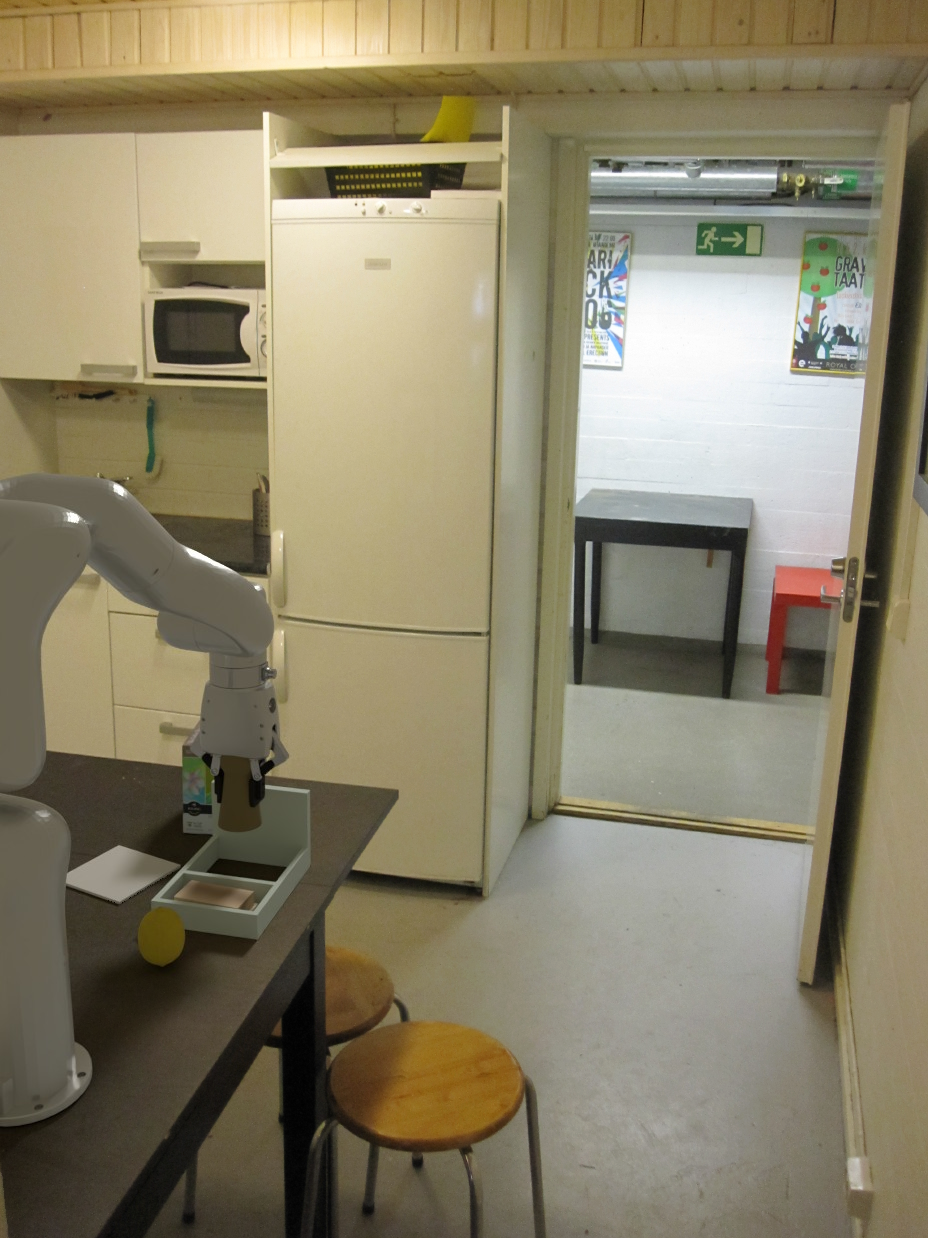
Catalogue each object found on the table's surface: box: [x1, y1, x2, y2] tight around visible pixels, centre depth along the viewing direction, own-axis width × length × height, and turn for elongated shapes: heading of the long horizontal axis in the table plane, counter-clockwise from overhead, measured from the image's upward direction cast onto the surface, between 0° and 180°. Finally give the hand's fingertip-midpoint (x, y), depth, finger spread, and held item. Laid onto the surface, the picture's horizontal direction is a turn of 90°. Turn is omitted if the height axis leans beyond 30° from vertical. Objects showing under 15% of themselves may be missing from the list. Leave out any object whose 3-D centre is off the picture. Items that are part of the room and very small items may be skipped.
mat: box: [66, 844, 182, 905], centre depth 153 cm, size 12×12×1 cm
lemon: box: [137, 906, 186, 967], centre depth 130 cm, size 6×6×8 cm
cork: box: [218, 755, 262, 832], centre depth 147 cm, size 6×6×11 cm
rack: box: [150, 780, 312, 940], centre depth 147 cm, size 20×15×12 cm
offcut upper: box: [174, 880, 254, 911], centre depth 142 cm, size 5×9×2 cm, turn 74°
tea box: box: [181, 719, 214, 835], centre depth 171 cm, size 15×10×15 cm
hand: (239, 800), depth 147 cm, fingers closed on cork, 4 cm apart
